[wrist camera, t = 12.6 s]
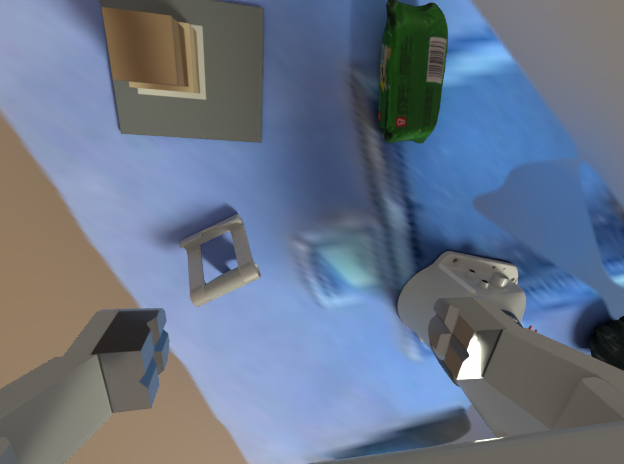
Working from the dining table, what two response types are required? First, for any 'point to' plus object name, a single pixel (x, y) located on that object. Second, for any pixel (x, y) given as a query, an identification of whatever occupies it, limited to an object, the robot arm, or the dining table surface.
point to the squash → (609, 343)
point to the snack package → (411, 71)
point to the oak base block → (191, 66)
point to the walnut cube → (146, 47)
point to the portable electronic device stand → (229, 279)
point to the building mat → (202, 75)
